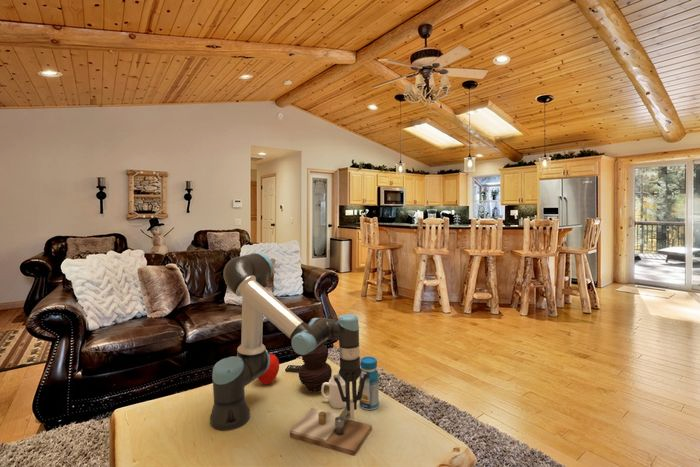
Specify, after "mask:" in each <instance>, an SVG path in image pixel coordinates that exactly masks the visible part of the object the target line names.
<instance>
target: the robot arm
mask: <svg viewBox="0 0 700 467" xmlns="http://www.w3.org/2000/svg"><path fill="white" fill-rule="evenodd" d="M273 274H274V264H273V261H272V260H271V258H270V257H269V256H268V255H267V254H265V253H262V252H255V253H254V252H252V253H248V254H246V255H241V256H235V257H233V258H231V259H230V260H229V261H228V262H226V264H225V265H224V268H223V279H224V281H225V284H226V286H227V287H228V289H229V290H230V291H231V292H232V293H233V294H235V296H236V297H239V298H240V297H241V298H242V300H241V332H240V333H241V337H240V338H241V340H240V342H241V343H240V344H239V346H238V347H237V349H236V353H237V354H236V356H228V357H224V358H222V359H220V360H219V361H217V362H216V363H215V365H213V368H212V376H211V380H212V388H213V389H212V390H213V392H212V393H213V406H212V410H211V414H210V415H209V416H210V417H209V424H210V426H211V427H212V428H213V429H215V430H217V431H218V430H219V431H229V430H234V429H239V428H240V427H241V426H243V425H244V426H245V424H246V423H247V422H248V421H249V420H250V418H251V410H250V407H249V405H248V402H247V400H246V396H245V393H246V392H245V387H246V386H247V385H249V384H251V383H252V382H253V381H255V380H256V379H257V380H258V377H260V376H261V375H263V374H264V373H265V372H266V371H267V369H268V368H269V365H270V355H269V354H270V353H269V352H268V350H267V349H266V345H264V344H263V326H264V324H263V322H264V319H263V318H264V317H265V318H266V319H267V320H268V321H269V323H271V324H273V325H274V326H275V327H276V328H277V329H278V330H279V331H281V333H283V334H284V335H285V336H286V337H287V338H289V339H290V340H291V341H290V342H291V347H292V349H293V352H295V353H296V354H297V355H300V356H302V355H305V354H308V353H309V352H311V351H313V350H314V349H315V348H316V347H317V346H319V345H320V344H322V343H323V344H324V343H325V342H326V341H327V340H332V341H338V343H339V344H338V346H339V348H338V349H339V351H338V352H339V371H338V373H337V374H335V375H333V376H332V378H334V380H335V382H336V383H337V386H338V389H339V392H340V396H341V399H342V402H346V408H347V411H349V417H350V419H349V420H353V421H356V420H355V411H357V408H358V406H357V405H358V404H357V403H358V401H360V400H361V398H362V393H363V388H364V383H365V380H366V378H367V376H368V375H367V373H366V372H363V371H362V370H361V369H362V368H361V357H360V355H361V353H360V326H359V325H360V324H359V317H358V315H356V314H353V313H343V314H340V315H339V316H338V317H337V319H334V318H333V319H332V318H324V317H313V318H311V319H310V321H309V325H307V323H306V322H304V321H303V320H302V319H301V318H299V316H298V315H296V314H295V313H294V312H293V311H292V310H291V309H289V308H288V307H287V306H286V305H285V304H284V303H282V301H280V300H279V299H277V297H276V296H274V295H273V294H272V293H271V292H269V291H268V290H267V287H268V285H269V284H268V282H269V278H271V276H272V275H273ZM360 374H361V375H360ZM340 376H341V377H342V378H343V380H344V381H345V391H346V397H344V394H343V390H342V387H341V384H340ZM359 376H361V378H360V377H359ZM359 379H360V383H359V382H358V388H357V380H359ZM350 385H351V387H350ZM350 389H351V392H350ZM351 393H352V394H351ZM351 395H352V396H351ZM351 398H352V399H351Z"/></svg>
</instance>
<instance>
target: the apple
mask: <svg viewBox="0 0 700 467" xmlns="http://www.w3.org/2000/svg"><path fill="white" fill-rule="evenodd" d="M268 354H269V355H270V365H269V368H268V369H267V371H266V372H265V373H264V374H263V375H261V376H260V377H258V378H257V380H258V381H259V382H260V383H261V384H263V385H269V384H272V383H273V382H274V381H275V379H276V378H277V376H278V373H279V371H280V362H279V359H278V357H277V356H276V355H275V354H272V353H268Z"/></svg>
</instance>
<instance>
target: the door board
mask: <svg viewBox="0 0 700 467" xmlns="http://www.w3.org/2000/svg"><path fill="white" fill-rule="evenodd" d="M339 416H340V414H338V413H335V412H330V411H326V410H322V409H318V408H314V407H311V408H310V409H309V410H308V411H307V412H306V413H305V414H304V415H303V416H302V417H301V418H300V419H299V420H298V421H297V422H296V423H295V424H293V426H292V427H291V428H290V429H289V438H293V439H296V440H301V441H305V442H308V443H310V444H314V445H318V446H320V447H325V448H328V449H331V450H334V451H338V452H341V453H345V454H348V455H352V456H356V454H357V453H358V451H359V449H360V448H361V446H362V445H363V444H364V442H365V440H366V439H367V437H368V436H369V434H370V432H371V431H372V426H373V425H372V424H370V423H369V424H368V423H365V422H361V421H356V420H350V419H349V420H348V422H347V424H346V425H345V427H344V434H342V435H337V434H336V433H335V418H337V417H339Z"/></svg>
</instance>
